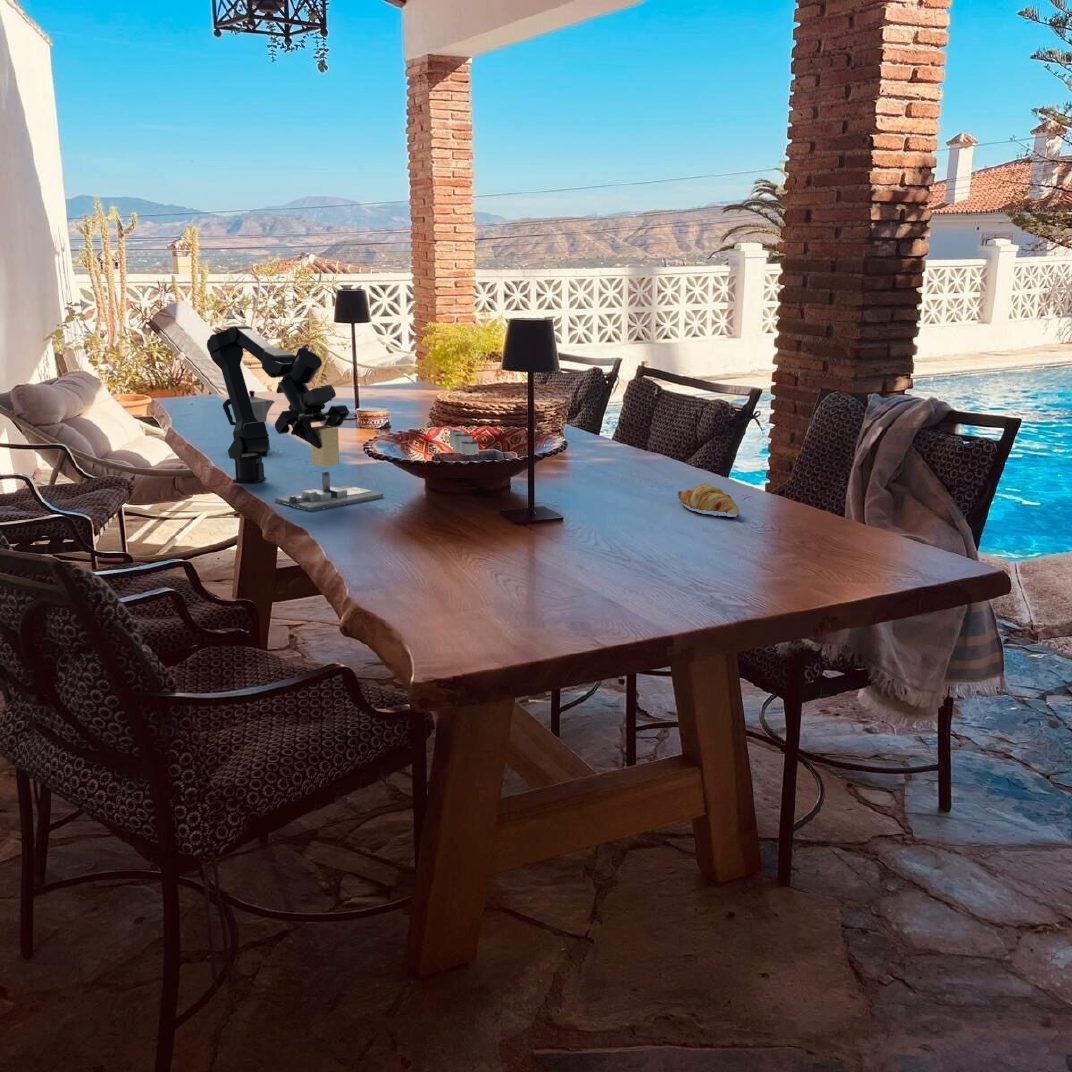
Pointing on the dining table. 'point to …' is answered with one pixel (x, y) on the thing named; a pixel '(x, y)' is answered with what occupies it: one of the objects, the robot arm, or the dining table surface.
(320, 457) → the sleeve
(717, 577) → the dining table surface
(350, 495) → the grey base plate
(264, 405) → the coffeepot
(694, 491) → the croissant
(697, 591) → the dining table surface
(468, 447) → the goblet set
